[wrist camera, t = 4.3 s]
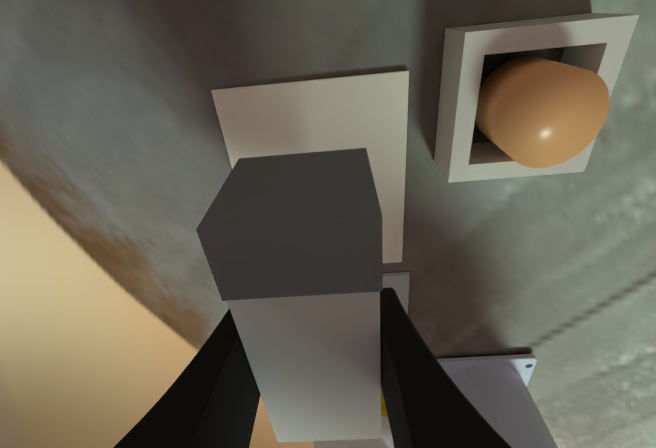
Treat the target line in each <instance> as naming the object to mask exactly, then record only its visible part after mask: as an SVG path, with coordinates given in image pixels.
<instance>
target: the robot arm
mask: <svg viewBox="0 0 656 448" xmlns="http://www.w3.org/2000/svg"><path fill="white" fill-rule="evenodd" d="M536 362H537V359H536V357H535V356H534V355H533V354H518V355H500V356H481V357H462V358H443V359H436V358H435V357H434V355H433V354H432V352H431V351H430V350H429V348H428V347H427V345H426V344H425V342H424V341H423V339H422V337H421V336H420V334H419V333H418V331H417V330H416V328H415V327H414V325H413V323H412V322H411V320H410V318H409V317H408V315H407V313H406V311H405V310H404V308H403V306H402V304H401V302H400V300H399V298H398V296H397V294H396V291H395V290H394V289H393V288H392V287H389V288H383V291H380V367H381V387H382V392H383V396H384V401H385V406H386V410H387V415H388V420H389V424H390V429H391V434H392V438H393V444H394V448H558V447H557V445H556V443H555V441H554V439H553V437H552V435H551V434H550V432H549V430H548V428H547V426H546V424H545V422H544V420H543V418H542V416H541V414H540V412H539V410H538V408H537V406H536V404H535V402H534V401H533V399H532V397H531V395H530V393H529V391H528V389H527V384H528V382H529V379H530V377H531V375H532V372H533V370H534V367H535V365H536ZM259 398H260V391H259V389H258V386H257V383H256V380H255V378H254V375H253V372H252V369H251V366H250V364H249V361H248V358H247V355H246V353H245V350H244V347H243V344H242V341H241V339H240V336H239V333H238V330H237V328H236V325H235V322H234V319H233V316H232V314H231V311H230V308H229V310H228V311H227V313H226V314H225V316H224V317H223V319H222V320H221V321H220V323H219V324H218V326H217V327H216V329H215V330H214V331H213V333H212V334H211V336H210V337H209V338H208V340H207V341H206V342H205V344H204V345H203V346H202V348H201V349H200V350H199V352H198V353H197V355H196V356H195V357H194V359H193V360H192V361H191V362H190V364H189V365H188V366H187V367H186V368H185V370H184V371H183V372H182V373H181V375H180V376H179V377H178V378H177V380H176V381H175V382H174V383H173V384H172V386H171V387H170V388H169V389H168V390H167V392H166V393H165V394H164V395H163V396H162V397H161V398H160V400H159V401H158V402H157V403H156V404H155V405H154V406H153V407H152V408H151V409H150V411H149V412H148V413H147V414H146V415H145V416H144V417H143V418H142V419H141V420H140V421H139V422H138V423H137V424H136V425H135V427H133V428H132V429H131V430H130V431H129V433H128V434H126V436H124V438H123V439H122V440H121V441H120V442H119V443H118V444H117V445H116V446H115V447H114V448H249V445H250V440H251V435H252V431H253V426H254V421H255V417H256V412H257V408H258V403H259Z"/></svg>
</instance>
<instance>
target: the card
mask: <svg viewBox="0 0 656 448" xmlns="http://www.w3.org/2000/svg"><path fill="white" fill-rule="evenodd" d="M409 281H410V274H409V272H396V273H383V288H389V287H392V288H393V289H394V290H395V291H396V294H397V296H398V298H399V300H400V302H401V304H402V306H403V308H404V310H405V311H406V313H407V315H408V300H409Z"/></svg>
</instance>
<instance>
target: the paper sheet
mask: <svg viewBox="0 0 656 448" xmlns="http://www.w3.org/2000/svg"><path fill="white" fill-rule="evenodd" d="M408 86H409V71H408V70H407V71H397V72H386V73H376V74H366V75H356V76H346V77H336V78H326V79H316V80H305V81H295V82H285V83H275V84H265V85H255V86H245V87H235V88H224V89H214V90H211V92H212V96H213V100H214V104H215V107H216V111H217V115H218V118H219V122H220V126H221V130H222V133H223V137H224V141H225V145H226V148H227V152H228V156H229V159H230V163H231V167H232V169H233V168H234V166H235V164H236V163H237V161H238V159H239V158H249V157H261V156H273V155H285V154H297V153H309V152H321V151H333V150H345V149H357V148H366V150H367V154H368V158H369V162H370V166H371V171H372V175H373V179H374V183H375V187H376V192H377V196H378V200H379V204H380V208H381V213H382V255H383V263H398V262H402V251H403V224H404V196H405V169H406V141H407V114H408Z"/></svg>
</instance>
